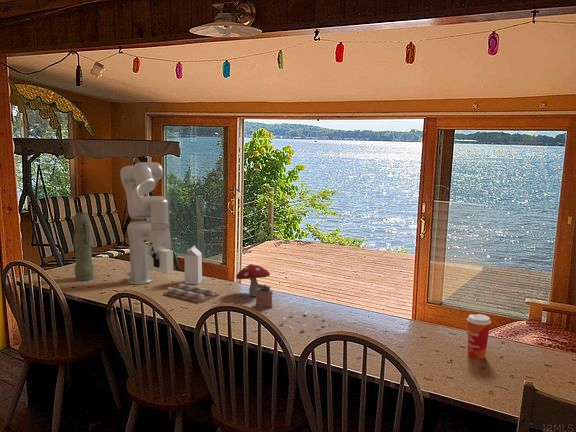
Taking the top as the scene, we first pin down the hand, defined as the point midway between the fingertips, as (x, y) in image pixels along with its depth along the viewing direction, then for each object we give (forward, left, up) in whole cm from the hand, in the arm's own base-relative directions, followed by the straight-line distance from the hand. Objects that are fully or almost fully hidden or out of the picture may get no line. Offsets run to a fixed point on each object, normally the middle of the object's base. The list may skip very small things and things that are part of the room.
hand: (160, 265), depth 226 cm
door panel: (0, 0, -2) cm, 2 cm away
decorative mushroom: (+29, +31, -17) cm, 46 cm away
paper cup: (+134, +18, -17) cm, 137 cm away
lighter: (+43, +20, -17) cm, 51 cm away
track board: (+5, +14, -17) cm, 22 cm away
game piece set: (+68, +13, -17) cm, 72 cm away
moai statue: (-61, +4, -17) cm, 63 cm away
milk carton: (-9, +31, -17) cm, 36 cm away
